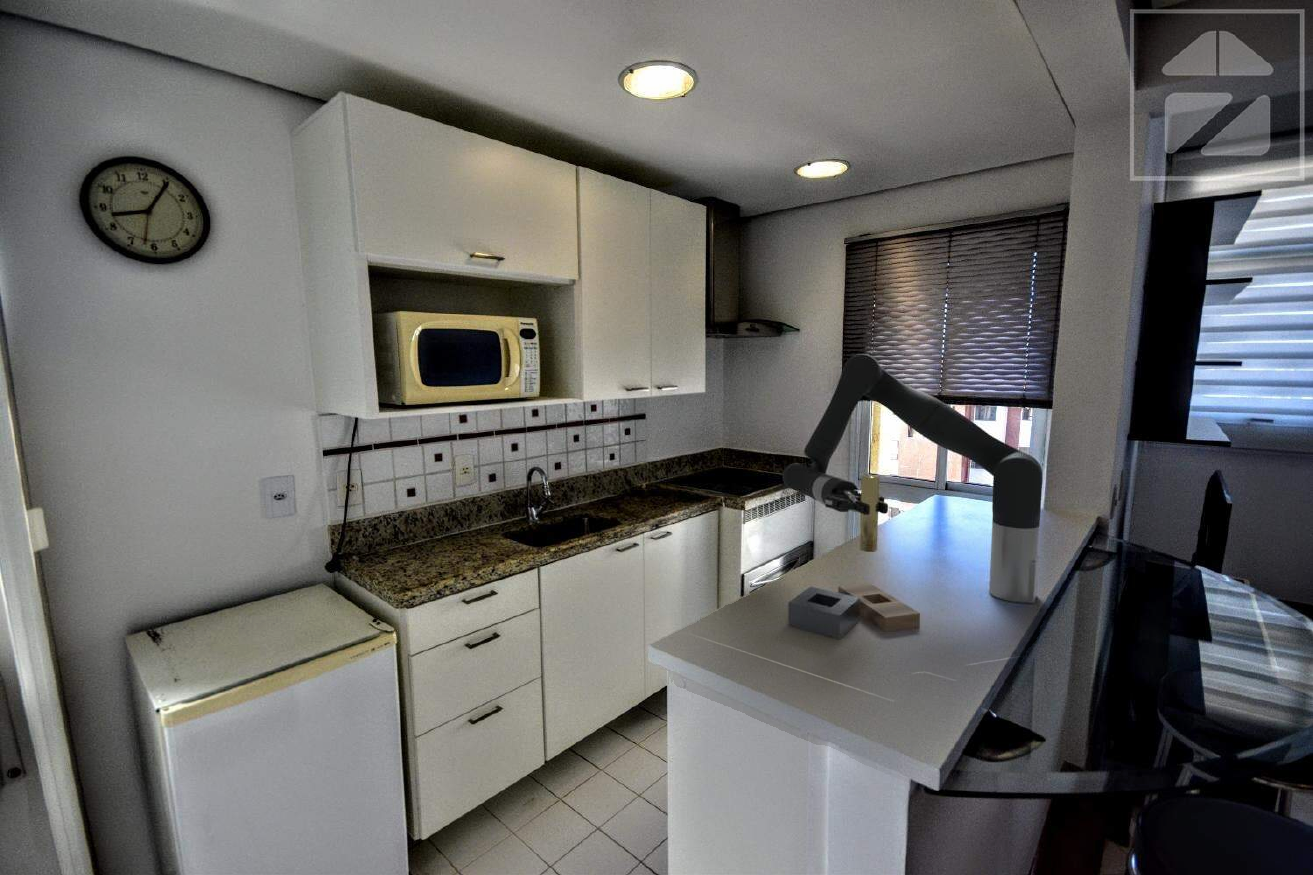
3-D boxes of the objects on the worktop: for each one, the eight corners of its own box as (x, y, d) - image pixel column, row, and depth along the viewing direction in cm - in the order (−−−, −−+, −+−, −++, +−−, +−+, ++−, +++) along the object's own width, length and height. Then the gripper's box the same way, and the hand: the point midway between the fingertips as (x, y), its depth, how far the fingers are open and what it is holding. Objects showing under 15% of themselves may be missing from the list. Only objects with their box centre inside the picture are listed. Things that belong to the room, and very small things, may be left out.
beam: (838, 598, 134) (838, 585, 134) (868, 594, 136) (868, 582, 135) (885, 631, 117) (885, 617, 116) (919, 626, 118) (920, 613, 118)
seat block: (859, 620, 122) (859, 597, 121) (839, 639, 114) (839, 615, 113) (810, 607, 129) (810, 586, 128) (788, 625, 120) (788, 602, 120)
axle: (879, 548, 124) (881, 476, 122) (873, 553, 122) (876, 479, 120) (862, 545, 127) (864, 474, 125) (856, 549, 124) (858, 477, 122)
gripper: (807, 478, 135) (847, 494, 118) (861, 475, 138) (907, 489, 121) (807, 509, 136) (846, 529, 119) (860, 505, 139) (906, 524, 122)
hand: (877, 509), depth 120 cm, fingers closed on axle, 3 cm apart
